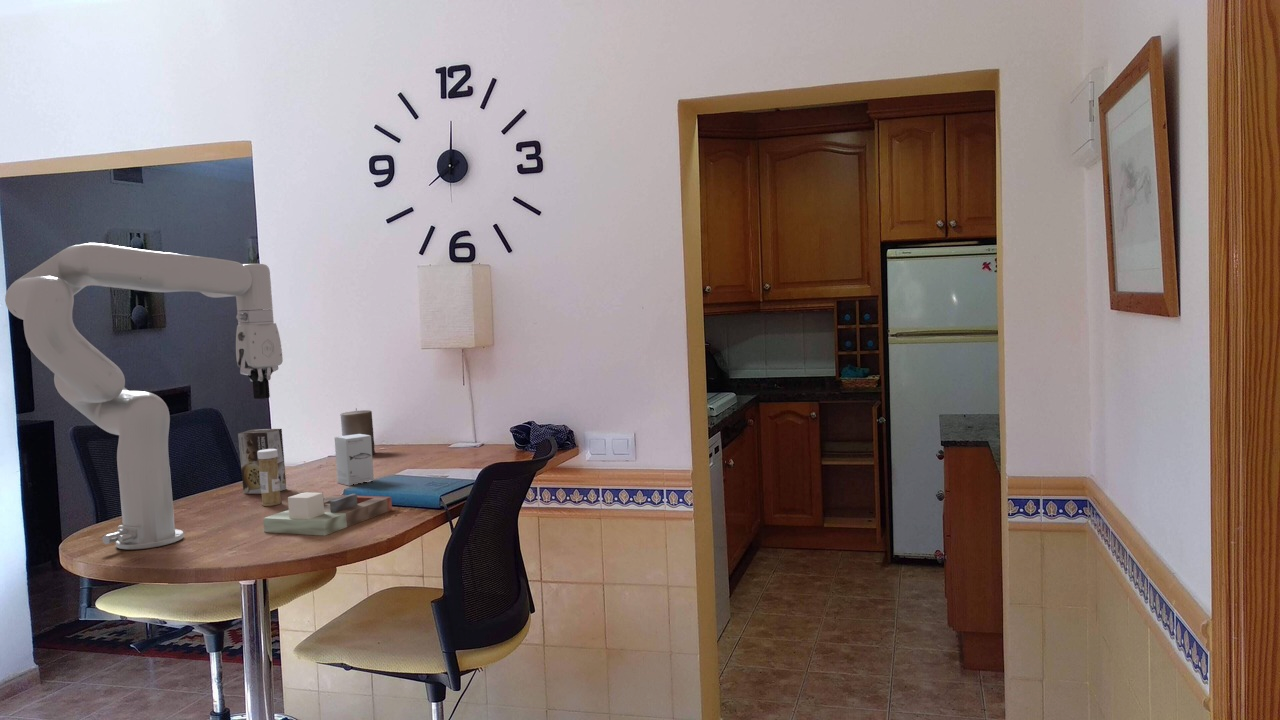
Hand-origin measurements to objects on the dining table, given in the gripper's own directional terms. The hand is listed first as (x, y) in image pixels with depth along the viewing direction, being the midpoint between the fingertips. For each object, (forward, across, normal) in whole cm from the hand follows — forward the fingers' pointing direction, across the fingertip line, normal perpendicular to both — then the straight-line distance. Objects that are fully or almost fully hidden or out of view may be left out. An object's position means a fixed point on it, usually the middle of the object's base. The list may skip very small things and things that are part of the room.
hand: (261, 398), depth 216 cm
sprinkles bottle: (+27, +9, +8) cm, 30 cm away
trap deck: (+27, -2, -19) cm, 33 cm away
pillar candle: (+27, +75, +33) cm, 86 cm away
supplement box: (+27, +36, +4) cm, 45 cm away
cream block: (+24, -11, -20) cm, 33 cm away
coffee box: (+27, +22, +22) cm, 41 cm away
